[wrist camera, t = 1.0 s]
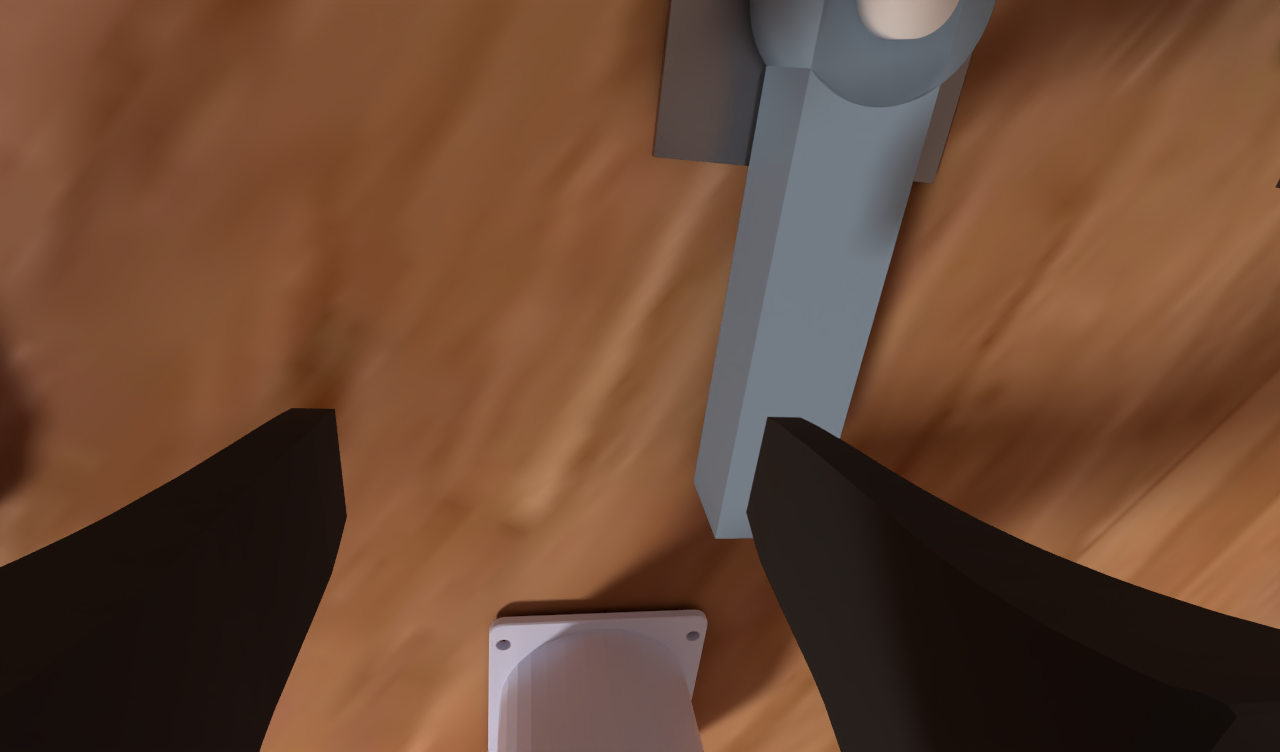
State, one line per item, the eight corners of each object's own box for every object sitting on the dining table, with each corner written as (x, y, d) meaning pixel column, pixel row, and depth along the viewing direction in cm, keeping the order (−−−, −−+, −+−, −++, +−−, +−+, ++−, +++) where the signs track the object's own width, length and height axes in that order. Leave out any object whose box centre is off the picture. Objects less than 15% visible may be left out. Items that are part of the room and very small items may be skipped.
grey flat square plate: (927, 181, 18) (933, 183, 18) (651, 155, 17) (653, 156, 17) (1031, -175, 15) (1041, -179, 15) (696, -247, 13) (700, -254, 13)
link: (770, -132, 14) (840, -185, 11) (950, -98, 15) (1065, -139, 12) (673, 481, 21) (698, 558, 18) (798, 482, 22) (845, 555, 19)
